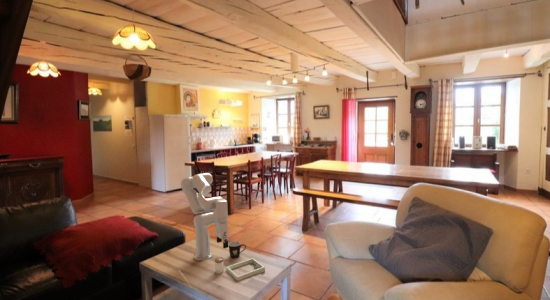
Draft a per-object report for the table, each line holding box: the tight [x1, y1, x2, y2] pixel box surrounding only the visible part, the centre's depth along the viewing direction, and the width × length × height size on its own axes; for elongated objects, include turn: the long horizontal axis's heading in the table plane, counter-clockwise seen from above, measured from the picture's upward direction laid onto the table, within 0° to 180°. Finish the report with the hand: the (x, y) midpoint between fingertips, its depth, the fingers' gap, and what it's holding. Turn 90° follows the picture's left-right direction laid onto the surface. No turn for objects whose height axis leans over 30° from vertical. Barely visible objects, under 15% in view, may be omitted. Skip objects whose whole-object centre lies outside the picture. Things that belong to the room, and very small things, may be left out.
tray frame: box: [225, 257, 266, 282], centre depth 182 cm, size 15×20×3 cm
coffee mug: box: [228, 240, 247, 259], centre depth 200 cm, size 12×9×10 cm
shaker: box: [214, 256, 225, 275], centre depth 180 cm, size 5×5×9 cm
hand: (222, 245), depth 180 cm, fingers open, 9 cm apart
